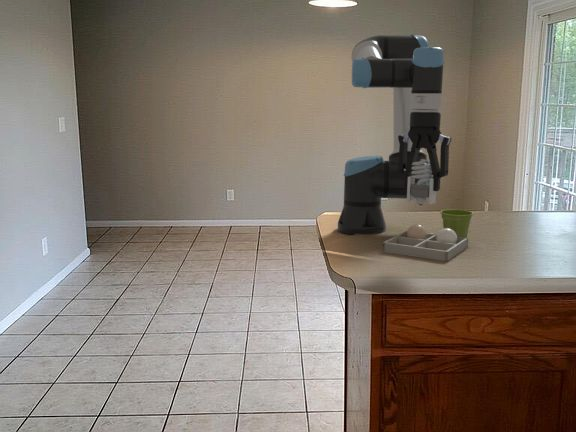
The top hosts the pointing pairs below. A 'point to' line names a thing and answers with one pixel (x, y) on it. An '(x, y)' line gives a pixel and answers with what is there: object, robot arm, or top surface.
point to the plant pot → (457, 221)
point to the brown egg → (417, 232)
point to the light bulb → (420, 188)
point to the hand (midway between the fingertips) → (421, 202)
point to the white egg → (446, 236)
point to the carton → (424, 247)
